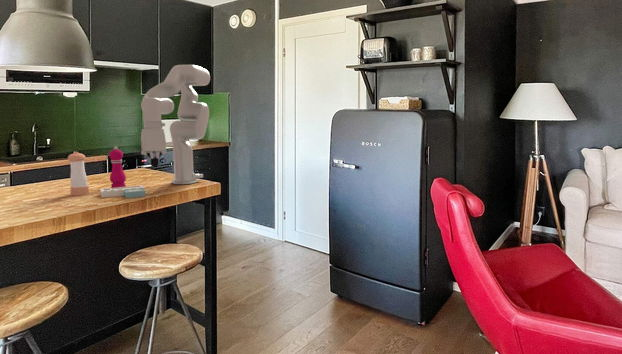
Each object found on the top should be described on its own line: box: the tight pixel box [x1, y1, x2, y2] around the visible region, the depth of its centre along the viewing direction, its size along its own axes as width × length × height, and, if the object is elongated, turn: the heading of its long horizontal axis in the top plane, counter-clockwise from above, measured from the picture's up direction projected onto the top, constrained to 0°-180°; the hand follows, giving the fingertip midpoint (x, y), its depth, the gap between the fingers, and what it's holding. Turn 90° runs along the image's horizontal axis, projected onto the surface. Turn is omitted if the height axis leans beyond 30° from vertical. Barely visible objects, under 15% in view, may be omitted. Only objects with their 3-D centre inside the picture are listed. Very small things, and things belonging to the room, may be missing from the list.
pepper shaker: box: [67, 151, 90, 196], centre depth 197 cm, size 7×7×19 cm
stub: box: [123, 188, 146, 199], centre depth 195 cm, size 8×6×3 cm
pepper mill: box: [108, 146, 127, 188], centre depth 212 cm, size 7×7×20 cm
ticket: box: [99, 185, 146, 198], centre depth 199 cm, size 18×7×3 cm, turn 119°
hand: (154, 167), depth 197 cm, fingers closed
